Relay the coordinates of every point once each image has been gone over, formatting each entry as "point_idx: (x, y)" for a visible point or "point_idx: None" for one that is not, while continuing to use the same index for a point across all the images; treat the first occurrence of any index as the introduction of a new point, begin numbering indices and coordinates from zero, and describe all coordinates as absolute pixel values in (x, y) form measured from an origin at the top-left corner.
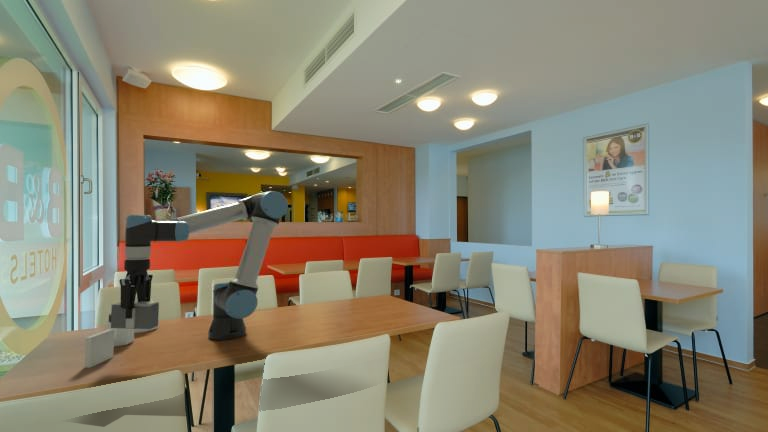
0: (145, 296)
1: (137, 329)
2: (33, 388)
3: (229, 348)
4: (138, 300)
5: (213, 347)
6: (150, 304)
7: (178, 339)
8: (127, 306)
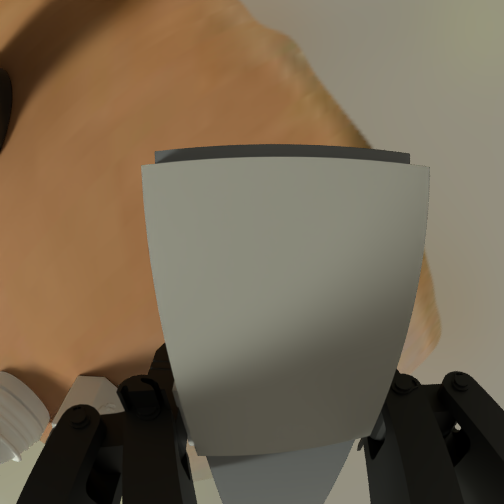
0: (139, 496)
1: (35, 402)
2: (408, 346)
3: (86, 12)
4: (191, 486)
5: (70, 64)
6: (423, 170)
7: (19, 256)
8: (473, 380)
